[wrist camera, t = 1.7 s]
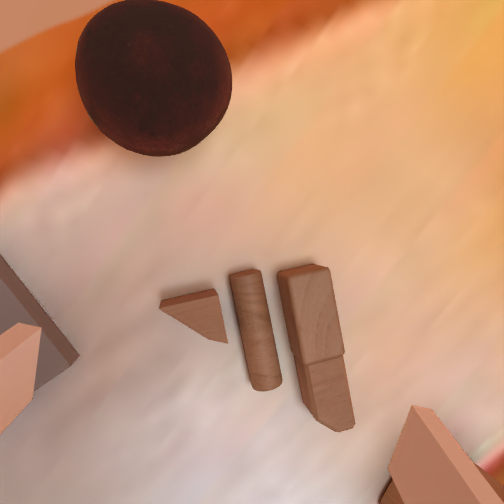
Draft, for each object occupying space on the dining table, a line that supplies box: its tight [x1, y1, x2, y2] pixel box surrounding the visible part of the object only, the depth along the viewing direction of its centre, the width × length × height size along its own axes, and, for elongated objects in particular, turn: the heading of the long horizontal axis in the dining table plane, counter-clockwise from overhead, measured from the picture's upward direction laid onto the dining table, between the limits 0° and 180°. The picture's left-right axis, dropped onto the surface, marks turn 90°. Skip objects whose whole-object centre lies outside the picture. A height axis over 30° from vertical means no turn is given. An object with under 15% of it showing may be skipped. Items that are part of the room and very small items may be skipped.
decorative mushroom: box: [75, 0, 232, 156], centre depth 30 cm, size 11×11×15 cm
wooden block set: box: [159, 264, 355, 432], centre depth 38 cm, size 17×6×18 cm
